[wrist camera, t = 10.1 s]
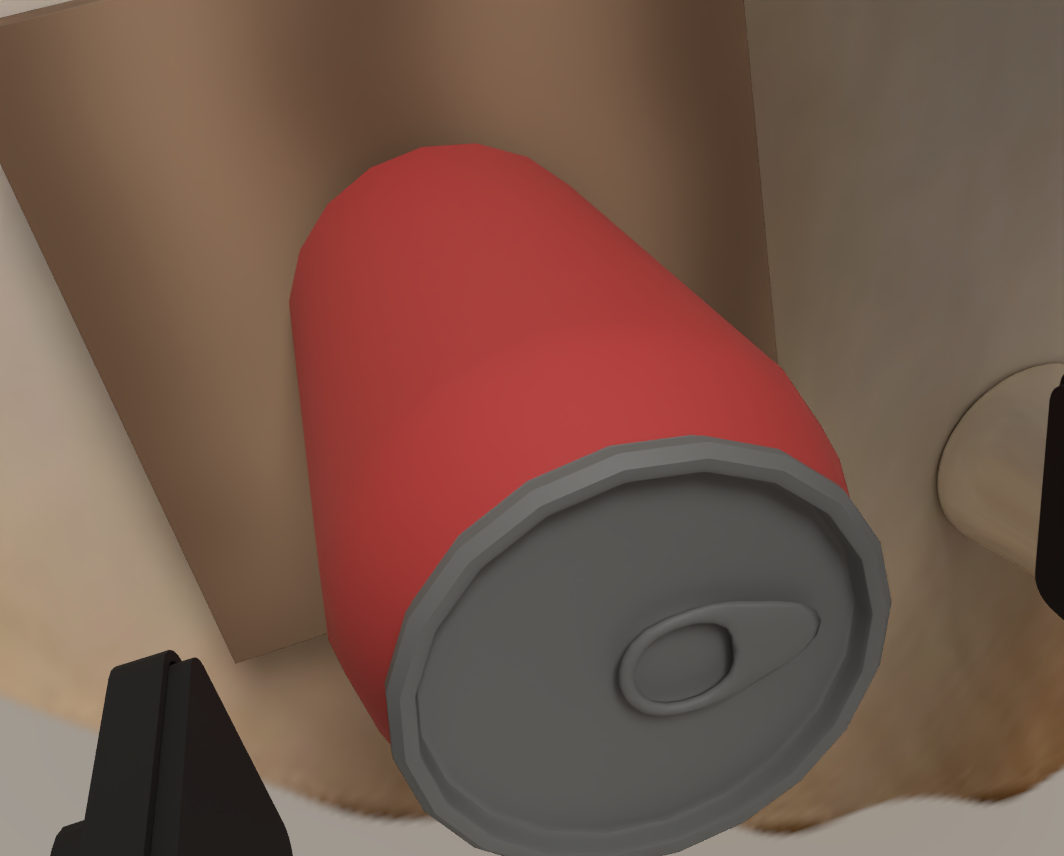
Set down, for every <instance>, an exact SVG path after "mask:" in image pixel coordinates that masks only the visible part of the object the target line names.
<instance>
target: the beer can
mask: <svg viewBox="0 0 1064 856" xmlns="http://www.w3.org/2000/svg"><path fill="white" fill-rule="evenodd" d="M289 308H290V316H291V325H292V334H293V343H294V352H295V361H296V370H297V378H298V387H299V396H300V405H301V414H302V423H303V432H304V440H305V449H306V458H307V467H308V476H309V485H310V494H311V502H312V511H313V520H314V529H315V538H316V547H317V556H318V564H319V573H320V580H321V588H322V595H323V603H324V610H325V618H326V625H327V633H328V640H329V642H330V644H331V646H332V648H333V650H334V652H335V654H336V656H337V658H338V660H339V662H340V664H341V666H342V668H343V670H344V672H345V674H346V675H347V677H348V679H349V681H350V682H351V684H352V686H353V687H354V689H355V691H356V692H357V694H358V696H359V698H360V699H361V701H362V703H363V704H364V706H365V708H366V709H367V711H368V713H369V714H370V716H371V718H372V720H373V721H374V723H375V725H376V726H377V728H378V730H379V731H380V733H381V734H382V735H383V736H384V737H385V738H386V740H387V741H388V742H389V743H390V744H391V750H392V756H393V759H394V761H395V763H396V764H397V766H398V768H399V769H400V771H401V773H402V774H403V776H404V778H405V780H406V781H407V783H408V785H409V786H410V788H411V790H412V791H413V793H414V795H415V796H416V798H417V800H418V801H419V803H420V805H421V807H422V808H423V810H424V811H425V812H426V813H427V814H429V815H430V816H432V817H433V818H434V819H436V820H437V821H439V822H440V823H441V824H443V825H444V826H445V827H447V828H448V829H450V830H451V831H452V832H454V833H455V834H456V835H458V836H459V837H461V838H462V839H463V840H465V841H466V842H468V843H469V844H470V845H472V846H473V847H475V848H478V849H481V850H485V851H488V852H492V853H495V854H499V855H502V856H663V855H667V854H672V853H676V852H680V851H682V850H684V849H686V848H689V847H691V846H693V845H695V844H697V843H699V842H702V841H704V840H706V839H708V838H710V837H713V836H715V835H717V834H719V833H721V832H723V831H726V830H728V829H730V828H732V827H734V826H737V825H739V824H741V823H743V822H745V821H746V820H747V819H749V818H750V817H752V816H753V815H754V814H756V813H757V812H758V811H760V810H761V809H762V808H764V807H765V806H767V805H768V804H769V803H771V802H772V801H773V800H775V799H776V798H778V797H779V796H780V795H782V794H783V793H784V792H786V791H787V790H788V789H790V788H791V787H793V786H794V785H795V784H797V783H798V782H799V781H801V780H802V778H803V777H804V776H805V775H806V774H807V773H808V772H809V771H810V769H811V768H812V767H813V766H814V765H815V764H816V763H817V762H818V760H819V759H820V758H821V757H822V756H823V755H824V754H825V753H826V751H827V750H828V749H829V748H830V747H831V746H832V745H833V744H834V742H835V741H836V740H837V739H838V738H839V737H840V736H841V735H842V733H843V732H844V731H845V730H846V729H847V727H848V725H849V723H850V721H851V719H852V717H853V715H854V713H855V711H856V709H857V708H858V706H859V704H860V702H861V700H862V698H863V696H864V694H865V692H866V690H867V688H868V686H869V685H870V683H871V681H872V679H873V677H874V675H875V673H876V671H877V669H878V667H879V665H880V661H881V656H882V650H883V645H884V640H885V634H886V629H887V623H888V618H889V613H890V607H891V597H890V592H889V586H888V581H887V575H886V570H885V565H884V559H883V554H882V549H881V543H880V541H879V540H878V538H877V537H876V535H875V534H874V532H873V531H872V529H871V528H870V527H869V525H868V524H867V522H866V521H865V519H864V518H863V517H862V515H861V514H860V512H859V511H858V509H857V508H856V506H855V505H854V504H853V502H852V501H851V499H850V497H849V493H848V489H847V485H846V482H845V478H844V474H843V471H842V467H841V463H840V459H839V458H838V456H837V454H836V452H835V450H834V448H833V447H832V445H831V443H830V441H829V439H828V438H827V436H826V434H825V432H824V430H823V428H822V427H821V425H820V424H819V422H818V421H817V419H816V418H815V416H814V415H813V413H812V412H811V410H810V409H809V407H808V406H807V404H806V403H805V401H804V400H803V399H802V397H801V396H800V394H799V393H798V391H797V390H796V388H795V387H794V385H793V384H792V382H791V381H790V379H789V378H788V376H787V375H786V373H785V372H784V371H783V369H782V368H781V367H779V366H778V365H777V364H776V363H775V362H774V361H773V360H771V359H770V358H769V357H768V356H767V355H766V354H764V353H763V352H762V351H761V350H760V349H759V348H757V347H756V346H755V345H754V344H753V343H752V342H751V341H749V340H748V339H747V338H746V337H745V336H744V335H742V334H741V333H740V332H739V331H738V330H737V329H735V328H734V327H733V326H732V325H731V324H730V323H728V322H727V321H726V320H725V319H724V318H723V317H722V316H720V315H719V314H718V313H717V312H716V311H715V310H713V309H712V308H711V307H710V306H709V305H708V304H706V303H705V302H704V301H703V300H702V299H701V298H700V297H698V296H697V295H696V294H695V293H694V292H693V291H691V290H690V289H689V288H688V287H687V286H686V285H684V284H683V283H682V282H681V281H680V280H679V279H678V278H676V277H675V276H674V275H673V274H672V273H671V272H669V271H668V270H667V269H666V268H665V267H664V266H662V265H661V264H660V263H659V262H658V261H657V260H655V259H654V258H653V257H652V256H651V255H650V254H649V253H647V252H646V251H645V250H644V249H643V248H642V247H640V246H639V245H638V244H637V243H636V242H635V241H633V240H632V239H631V238H630V237H629V236H628V235H627V234H625V233H624V232H623V231H622V230H621V229H620V228H618V227H617V226H616V225H615V224H614V223H613V222H611V221H610V220H609V219H608V218H607V217H606V216H605V215H603V214H602V213H601V212H600V211H599V210H598V209H596V208H595V207H594V206H593V205H592V204H591V203H589V202H588V201H587V200H586V199H585V198H584V197H582V196H581V195H580V194H579V193H578V192H577V191H576V190H574V189H573V188H572V187H571V186H570V185H568V184H567V183H565V182H564V181H562V180H561V179H559V178H558V177H556V176H555V175H554V174H552V173H551V172H549V171H548V170H546V169H545V168H543V167H542V166H540V165H539V164H537V163H536V162H534V161H533V160H531V159H530V158H529V157H526V156H522V155H518V154H515V153H511V152H507V151H503V150H500V149H496V148H492V147H488V146H485V145H481V144H477V143H474V144H459V145H444V146H428V147H420V148H418V149H416V150H413V151H411V152H408V153H406V154H403V155H401V156H398V157H396V158H393V159H391V160H388V161H386V162H384V163H381V164H379V165H376V166H374V167H371V168H369V169H368V170H367V171H366V172H365V173H364V174H362V175H361V176H360V177H359V178H358V179H357V180H355V181H354V182H353V183H352V184H351V185H349V186H348V187H347V188H346V189H345V190H344V191H342V192H341V193H340V194H339V195H338V196H337V197H335V198H334V199H333V200H332V201H331V202H329V203H328V204H327V206H326V208H325V209H324V211H323V213H322V214H321V216H320V218H319V219H318V221H317V223H316V224H315V226H314V228H313V229H312V231H311V233H310V234H309V236H308V238H307V239H306V241H305V242H304V244H303V246H302V247H301V249H300V251H299V256H298V261H297V265H296V270H295V275H294V279H293V284H292V289H291V294H290V298H289Z"/></svg>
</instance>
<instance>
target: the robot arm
mask: <svg viewBox="0 0 1064 856" xmlns="http://www.w3.org/2000/svg"><path fill="white" fill-rule="evenodd" d="M1035 580H1036V584H1037V588H1038V590H1039V592H1040V594H1041V596H1042V598H1043V599H1044V601H1045V602H1046V603H1047V604H1048V606H1049V607H1050V608H1051V609H1052V610H1053V611H1054V612H1055V613H1057V614H1058V615H1059V616H1060V617H1061V618H1062V619H1063V620H1064V375H1063V376H1062V378H1061V380H1060V385H1059V386H1058V387H1056V388H1054V390H1053V391H1052V393H1051V396H1050V400H1049V412H1048V423H1047V435H1046V447H1045V459H1044V471H1043V483H1042V494H1041V506H1040V518H1039V530H1038V542H1037V554H1036V565H1035ZM50 856H293V855H292V849H291V844H290V840H289V836H288V833H287V830H286V828H285V826H284V823H283V821H282V819H281V818H280V815H279V813H278V812H277V810H276V808H275V806H274V804H273V802H272V800H271V798H270V796H269V794H268V792H267V790H266V788H265V786H264V784H263V782H262V780H261V778H260V776H259V774H258V772H257V770H256V768H255V766H254V764H253V762H252V760H251V758H250V756H249V754H248V753H247V751H246V749H245V747H244V745H243V743H242V741H241V739H240V737H239V735H238V733H237V731H236V729H235V727H234V725H233V723H232V721H231V719H230V717H229V715H228V713H227V711H226V709H225V707H224V705H223V703H222V701H221V699H220V697H219V695H218V694H217V692H216V690H215V688H214V686H213V684H212V682H211V680H210V678H209V676H208V674H207V672H206V670H205V668H204V666H203V665H202V663H201V661H200V660H199V659H198V658H191V659H188V660H185V661H181V659H180V658H179V656H178V655H177V654H176V653H175V652H174V651H172V650H168V651H164V652H161V653H158V654H155V655H152V656H148V657H145V658H142V659H139V660H136V661H132V662H129V663H126V664H123V665H120V666H116V667H114V668H113V669H112V670H111V673H110V676H109V679H108V685H107V691H106V697H105V703H104V708H103V714H102V720H101V726H100V732H99V738H98V744H97V749H96V756H95V761H94V768H93V773H92V779H91V784H90V790H89V796H88V803H87V808H86V814H85V820H83V821H80V822H77V823H74V824H71V825H68V826H65V827H63V828H62V830H61V831H60V832H59V833H58V835H57V836H56V838H55V842H54V844H53V848H52V851H51V855H50Z"/></svg>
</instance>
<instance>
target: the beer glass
mask: <svg viewBox="0 0 1064 856" xmlns="http://www.w3.org/2000/svg"><path fill="white" fill-rule="evenodd" d="M1063 375H1064V363H1050V364H1043V365H1039V366H1035V367H1032V368H1029V369H1026V370H1023V371H1021V372H1018V373H1016V374H1014V375H1012V376H1010V377H1008V378H1007V379H1005V380H1003V381H1002V382H1000V383H999V384H997V385H996V386H994V387H993V388H991V389H990V390H989V391H988V392H986V393H985V394H984V395H983V396H982V397H981V398H980V399H978V400H977V401H976V402H975V403H974V404H973V405H972V407H971V408H970V409H969V410H968V411H967V412H966V413H965V415H964V416H963V417H962V419H961V420H960V421H959V423H958V424H957V426H956V427H955V429H954V431H953V432H952V434H951V436H950V438H949V440H948V442H947V444H946V446H945V449H944V452H943V454H942V457H941V461H940V465H939V470H938V478H937V490H938V497H939V501H940V505H941V507H942V510H943V512H944V514H945V515H946V517H947V518H948V520H949V521H950V523H951V524H952V525H953V526H954V527H955V528H956V529H957V530H958V531H960V532H961V533H962V534H964V535H965V536H966V537H968V538H970V539H971V540H973V541H975V542H976V543H978V544H980V545H982V546H983V547H985V548H987V549H989V550H991V551H993V552H994V553H996V554H998V555H1000V556H1002V557H1004V558H1006V559H1007V560H1009V561H1011V562H1013V563H1014V564H1016V565H1017V566H1019V567H1020V568H1022V569H1024V570H1025V571H1026V572H1028V573H1029V574H1030V575H1031V576H1033V577H1034V578H1035V565H1036V554H1037V542H1038V530H1039V518H1040V506H1041V494H1042V483H1043V471H1044V459H1045V447H1046V435H1047V423H1048V412H1049V400H1050V396H1051V393H1052V391H1053V390H1054V388H1056V387H1058V386H1059V385H1060V380H1061V378H1062V376H1063Z"/></svg>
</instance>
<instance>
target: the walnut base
mask: <svg viewBox="0 0 1064 856" xmlns="http://www.w3.org/2000/svg"><path fill="white" fill-rule="evenodd" d="M474 143H477V144H481V145H485V146H488V147H492V148H496V149H500V150H503V151H507V152H511V153H515V154H518V155H522V156H526V157H529V158H530V159H531V160H533V161H534V162H536V163H537V164H539V165H540V166H542V167H543V168H545V169H546V170H548V171H549V172H551V173H552V174H554V175H555V176H556V177H558V178H559V179H561V180H562V181H564V182H565V183H567V184H568V185H570V186H571V187H572V188H573V189H574V190H576V191H577V192H578V193H579V194H580V195H581V196H582V197H584V198H585V199H586V200H587V201H588V202H589V203H591V204H592V205H593V206H594V207H595V208H596V209H598V210H599V211H600V212H601V213H602V214H603V215H605V216H606V217H607V218H608V219H609V220H610V221H611V222H613V223H614V224H615V225H616V226H617V227H618V228H620V229H621V230H622V231H623V232H624V233H625V234H627V235H628V236H629V237H630V238H631V239H632V240H633V241H635V242H636V243H637V244H638V245H639V246H640V247H642V248H643V249H644V250H645V251H646V252H647V253H649V254H650V255H651V256H652V257H653V258H654V259H655V260H657V261H658V262H659V263H660V264H661V265H662V266H664V267H665V268H666V269H667V270H668V271H669V272H671V273H672V274H673V275H674V276H675V277H676V278H678V279H679V280H680V281H681V282H682V283H683V284H684V285H686V286H687V287H688V288H689V289H690V290H691V291H693V292H694V293H695V294H696V295H697V296H698V297H700V298H701V299H702V300H703V301H704V302H705V303H706V304H708V305H709V306H710V307H711V308H712V309H713V310H715V311H716V312H717V313H718V314H719V315H720V316H722V317H723V318H724V319H725V320H726V321H727V322H728V323H730V324H731V325H732V326H733V327H734V328H735V329H737V330H738V331H739V332H740V333H741V334H742V335H744V336H745V337H746V338H747V339H748V340H749V341H751V342H752V343H753V344H754V345H755V346H756V347H757V348H759V349H760V350H761V351H762V352H763V353H764V354H766V355H767V356H768V357H769V358H770V359H771V360H773V361H774V362H775V363H776V364H777V365H778V362H777V352H776V341H775V330H774V319H773V309H772V298H771V287H770V276H769V266H768V255H767V244H766V234H765V223H764V212H763V201H762V191H761V180H760V169H759V158H758V148H757V137H756V126H755V116H754V105H753V94H752V83H751V73H750V62H749V51H748V40H747V30H746V19H745V8H744V0H72V1H68V2H64V3H60V4H56V5H52V6H48V7H44V8H40V9H35V10H31V11H27V12H23V13H19V14H15V15H11V16H7V17H3V18H0V164H1V166H2V168H3V170H4V172H5V174H6V177H7V179H8V181H9V183H10V185H11V187H12V189H13V191H14V194H15V196H16V198H17V200H18V202H19V204H20V206H21V208H22V211H23V213H24V215H25V217H26V219H27V221H28V223H29V225H30V228H31V230H32V232H33V234H34V236H35V238H36V240H37V242H38V245H39V247H40V249H41V251H42V253H43V255H44V257H45V260H46V262H47V264H48V266H49V268H50V270H51V272H52V274H53V277H54V279H55V281H56V283H57V285H58V287H59V289H60V291H61V294H62V296H63V298H64V300H65V302H66V304H67V306H68V308H69V311H70V313H71V315H72V317H73V319H74V321H75V323H76V325H77V328H78V330H79V332H80V334H81V336H82V338H83V340H84V342H85V345H86V347H87V349H88V351H89V353H90V355H91V357H92V359H93V362H94V364H95V366H96V368H97V370H98V372H99V374H100V376H101V379H102V381H103V383H104V385H105V387H106V389H107V391H108V393H109V396H110V398H111V400H112V402H113V404H114V406H115V408H116V410H117V413H118V415H119V417H120V419H121V421H122V423H123V425H124V427H125V430H126V432H127V434H128V436H129V438H130V440H131V442H132V445H133V447H134V449H135V451H136V453H137V455H138V457H139V459H140V462H141V464H142V466H143V468H144V470H145V472H146V474H147V476H148V479H149V481H150V483H151V485H152V487H153V489H154V491H155V493H156V496H157V498H158V500H159V502H160V504H161V506H162V508H163V510H164V513H165V515H166V517H167V519H168V521H169V523H170V525H171V527H172V530H173V532H174V534H175V536H176V538H177V540H178V542H179V544H180V547H181V549H182V551H183V553H184V555H185V557H186V559H187V561H188V564H189V566H190V568H191V570H192V572H193V574H194V576H195V578H196V581H197V583H198V585H199V587H200V589H201V591H202V593H203V595H204V598H205V600H206V602H207V604H208V606H209V608H210V610H211V612H212V615H213V617H214V619H215V621H216V623H217V625H218V627H219V630H220V632H221V634H222V636H223V638H224V640H225V642H226V644H227V647H228V649H229V651H230V653H231V655H232V657H233V659H234V661H235V663H238V662H241V661H244V660H247V659H250V658H253V657H257V656H260V655H263V654H266V653H269V652H272V651H275V650H278V649H281V648H284V647H287V646H290V645H293V644H296V643H299V642H303V641H306V640H309V639H312V638H315V637H318V636H321V635H324V634H327V625H326V618H325V610H324V603H323V595H322V588H321V580H320V573H319V564H318V556H317V547H316V538H315V529H314V520H313V511H312V502H311V494H310V485H309V476H308V467H307V458H306V449H305V440H304V432H303V423H302V414H301V405H300V396H299V387H298V378H297V370H296V361H295V352H294V343H293V334H292V325H291V316H290V308H289V298H290V294H291V289H292V284H293V279H294V275H295V270H296V265H297V261H298V256H299V251H300V249H301V247H302V246H303V244H304V242H305V241H306V239H307V238H308V236H309V234H310V233H311V231H312V229H313V228H314V226H315V224H316V223H317V221H318V219H319V218H320V216H321V214H322V213H323V211H324V209H325V208H326V206H327V204H328V203H329V202H331V201H332V200H333V199H334V198H335V197H337V196H338V195H339V194H340V193H341V192H342V191H344V190H345V189H346V188H347V187H348V186H349V185H351V184H352V183H353V182H354V181H355V180H357V179H358V178H359V177H360V176H361V175H362V174H364V173H365V172H366V171H367V170H368V169H369V168H371V167H374V166H376V165H379V164H381V163H384V162H386V161H388V160H391V159H393V158H396V157H398V156H401V155H403V154H406V153H408V152H411V151H413V150H416V149H418V148H420V147H428V146H444V145H459V144H474Z"/></svg>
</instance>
